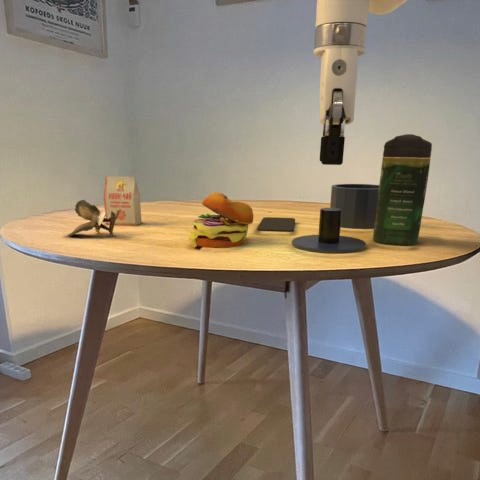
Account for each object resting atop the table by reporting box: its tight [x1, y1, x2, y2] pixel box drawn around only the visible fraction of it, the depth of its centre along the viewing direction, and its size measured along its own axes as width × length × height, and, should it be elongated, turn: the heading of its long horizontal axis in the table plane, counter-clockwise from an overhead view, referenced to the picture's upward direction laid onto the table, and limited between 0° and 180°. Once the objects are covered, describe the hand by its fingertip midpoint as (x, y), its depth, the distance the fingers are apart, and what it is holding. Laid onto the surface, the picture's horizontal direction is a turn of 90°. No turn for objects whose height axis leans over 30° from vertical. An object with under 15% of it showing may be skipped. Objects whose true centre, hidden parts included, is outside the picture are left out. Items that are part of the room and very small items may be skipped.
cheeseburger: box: [188, 191, 254, 248], centre depth 82 cm, size 10×11×10 cm
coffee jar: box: [372, 133, 433, 247], centre depth 82 cm, size 10×8×19 cm
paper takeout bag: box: [103, 175, 143, 226], centre depth 102 cm, size 4×7×10 cm, turn 80°
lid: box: [291, 207, 367, 254], centre depth 80 cm, size 13×13×7 cm
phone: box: [256, 216, 296, 233], centre depth 100 cm, size 7×1×15 cm
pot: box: [329, 183, 379, 230], centre depth 100 cm, size 12×12×8 cm
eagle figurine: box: [67, 199, 119, 237], centre depth 90 cm, size 8×7×9 cm
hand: (330, 163), depth 76 cm, fingers open, 9 cm apart
